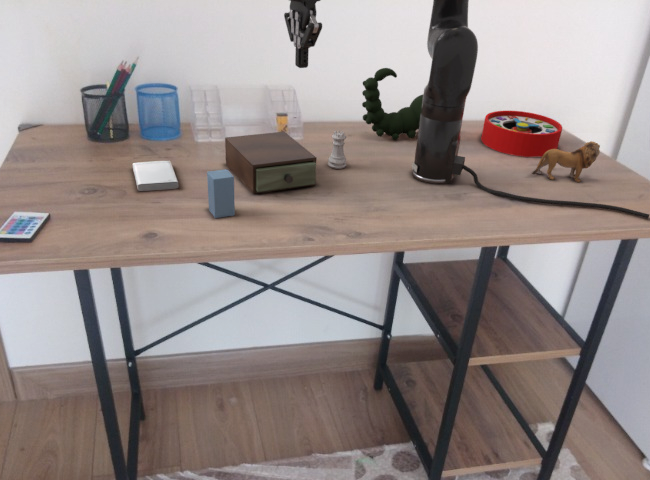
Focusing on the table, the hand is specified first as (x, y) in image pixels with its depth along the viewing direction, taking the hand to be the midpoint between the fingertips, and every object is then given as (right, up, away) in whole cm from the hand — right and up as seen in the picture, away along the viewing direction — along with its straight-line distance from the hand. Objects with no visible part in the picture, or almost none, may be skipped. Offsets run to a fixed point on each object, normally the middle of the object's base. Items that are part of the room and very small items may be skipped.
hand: (301, 66), depth 131 cm
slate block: (-15, -30, -5) cm, 34 cm away
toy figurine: (+26, -4, +40) cm, 48 cm away
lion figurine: (+61, -18, +23) cm, 68 cm away
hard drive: (-32, -22, +7) cm, 39 cm away
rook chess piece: (+7, -16, +20) cm, 27 cm away
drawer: (-7, -20, +10) cm, 24 cm away
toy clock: (+56, -6, +41) cm, 70 cm away
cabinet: (-8, -20, +13) cm, 25 cm away
